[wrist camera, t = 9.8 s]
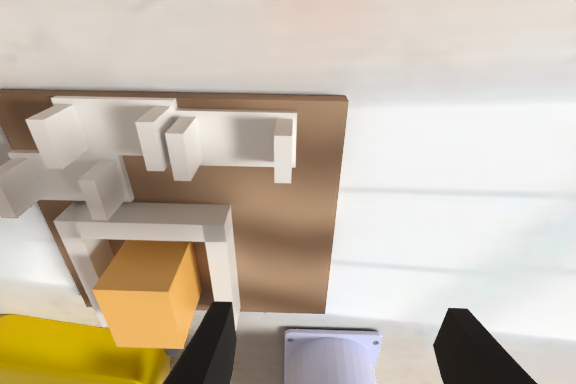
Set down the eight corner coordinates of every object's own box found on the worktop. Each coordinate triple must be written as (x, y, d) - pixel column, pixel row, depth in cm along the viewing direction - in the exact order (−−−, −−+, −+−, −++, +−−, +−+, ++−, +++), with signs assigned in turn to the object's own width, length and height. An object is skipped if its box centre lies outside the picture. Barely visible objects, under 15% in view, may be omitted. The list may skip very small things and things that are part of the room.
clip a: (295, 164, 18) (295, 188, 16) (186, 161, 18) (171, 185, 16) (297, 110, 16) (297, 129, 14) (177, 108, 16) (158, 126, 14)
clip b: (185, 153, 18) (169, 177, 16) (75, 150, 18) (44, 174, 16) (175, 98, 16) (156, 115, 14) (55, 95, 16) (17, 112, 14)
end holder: (240, 306, 24) (236, 330, 23) (115, 303, 24) (101, 326, 23) (230, 204, 19) (224, 225, 18) (74, 201, 20) (52, 221, 18)
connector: (208, 328, 26) (193, 387, 22) (158, 327, 26) (134, 385, 22) (191, 236, 21) (168, 291, 17) (129, 234, 21) (91, 289, 17)
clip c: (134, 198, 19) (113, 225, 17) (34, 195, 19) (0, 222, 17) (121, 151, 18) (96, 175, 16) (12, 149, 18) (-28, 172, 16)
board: (323, 302, 25) (324, 313, 24) (93, 296, 26) (87, 306, 25) (345, 95, 17) (348, 101, 16) (1, 89, 17) (-14, 94, 16)
